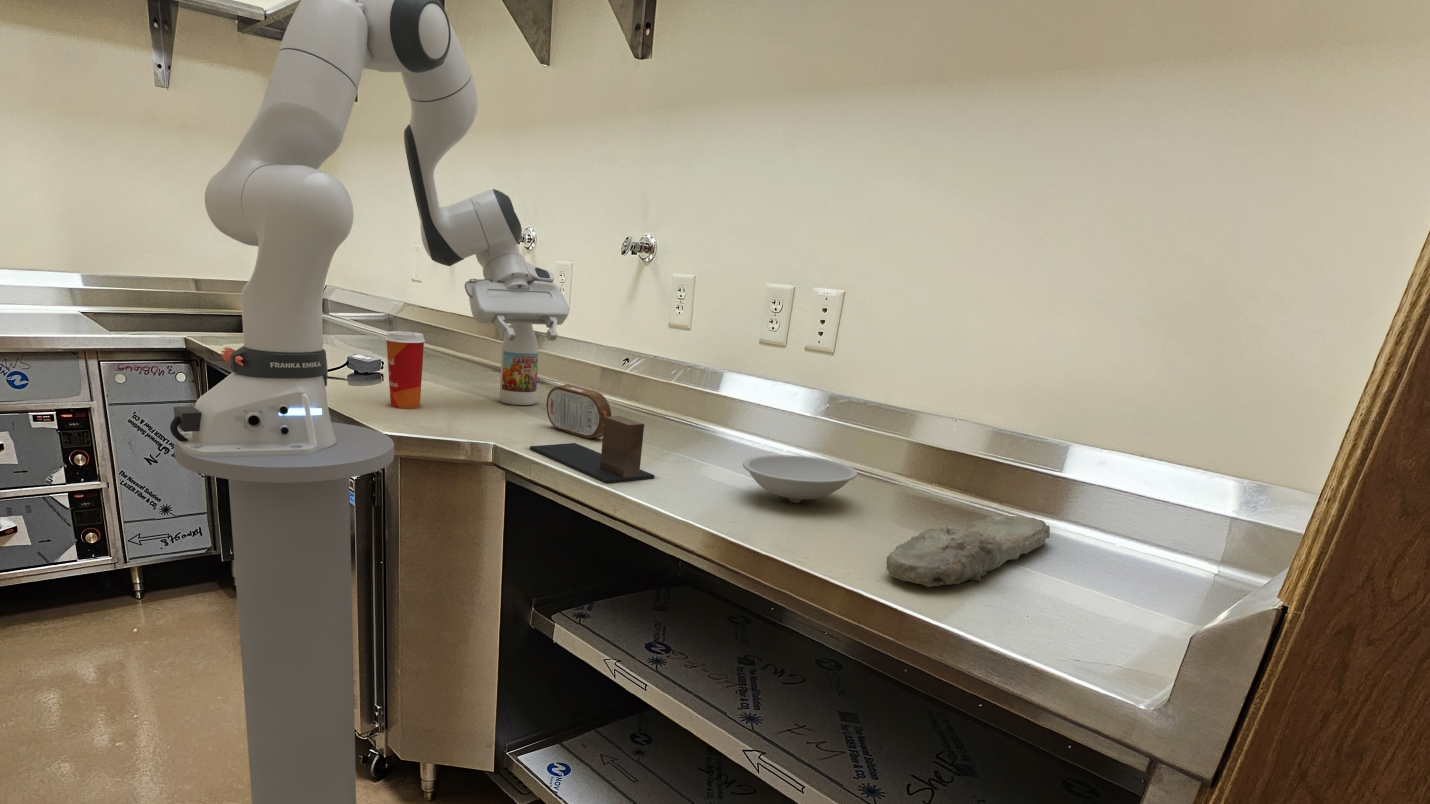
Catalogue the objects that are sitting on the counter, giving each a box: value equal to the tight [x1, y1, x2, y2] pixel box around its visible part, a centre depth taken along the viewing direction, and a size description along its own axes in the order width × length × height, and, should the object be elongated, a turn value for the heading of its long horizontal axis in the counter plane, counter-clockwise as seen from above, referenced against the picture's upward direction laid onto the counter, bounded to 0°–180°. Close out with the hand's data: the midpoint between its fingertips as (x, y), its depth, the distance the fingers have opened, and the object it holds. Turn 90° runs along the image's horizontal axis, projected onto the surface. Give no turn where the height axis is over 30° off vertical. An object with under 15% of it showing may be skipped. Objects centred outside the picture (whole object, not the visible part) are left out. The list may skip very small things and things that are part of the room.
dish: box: [742, 454, 858, 503], centre depth 121 cm, size 18×14×5 cm
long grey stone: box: [885, 515, 1051, 588], centre depth 101 cm, size 35×5×10 cm
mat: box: [529, 442, 655, 484], centre depth 133 cm, size 9×22×1 cm, turn 35°
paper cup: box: [384, 330, 426, 410], centre depth 163 cm, size 8×8×14 cm
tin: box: [546, 383, 612, 439], centre depth 152 cm, size 15×3×8 cm, turn 44°
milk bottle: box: [499, 324, 539, 406], centre depth 175 cm, size 8×8×20 cm
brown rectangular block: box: [600, 415, 645, 478], centre depth 126 cm, size 3×6×8 cm, turn 35°
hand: (532, 338), depth 161 cm, fingers open, 8 cm apart
